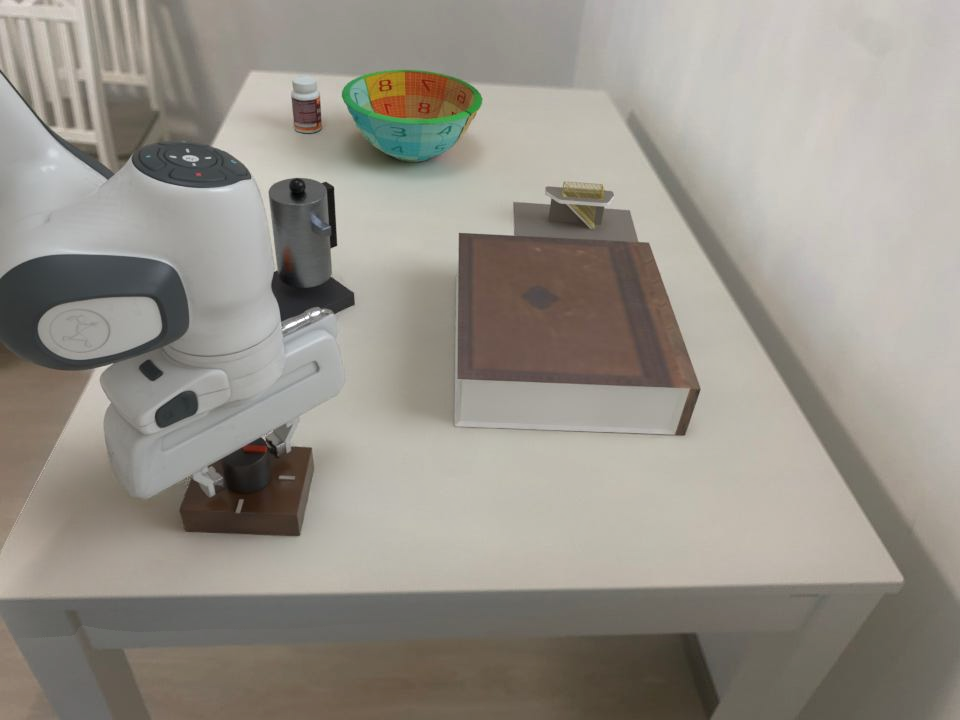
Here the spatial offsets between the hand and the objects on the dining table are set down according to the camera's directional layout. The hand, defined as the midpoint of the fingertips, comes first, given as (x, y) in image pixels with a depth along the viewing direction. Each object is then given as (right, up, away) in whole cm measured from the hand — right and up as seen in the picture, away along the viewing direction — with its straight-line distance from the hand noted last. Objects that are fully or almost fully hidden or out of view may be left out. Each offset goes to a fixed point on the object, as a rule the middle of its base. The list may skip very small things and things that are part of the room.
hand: (247, 470), depth 68 cm
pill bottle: (-9, +50, +65) cm, 83 cm away
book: (+30, +11, +23) cm, 39 cm away
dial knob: (0, -1, +1) cm, 1 cm away
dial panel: (0, -3, +3) cm, 4 cm away
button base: (-3, +16, +25) cm, 30 cm away
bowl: (+9, +44, +61) cm, 76 cm away
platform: (+35, +29, +46) cm, 64 cm away
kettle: (+1, +20, +25) cm, 32 cm away
